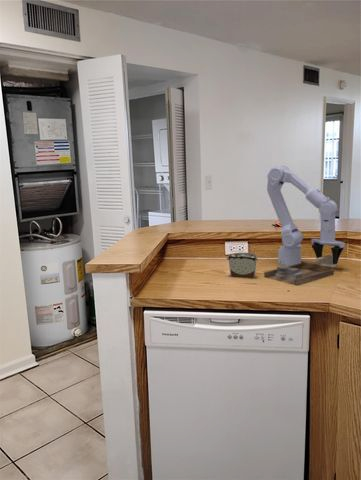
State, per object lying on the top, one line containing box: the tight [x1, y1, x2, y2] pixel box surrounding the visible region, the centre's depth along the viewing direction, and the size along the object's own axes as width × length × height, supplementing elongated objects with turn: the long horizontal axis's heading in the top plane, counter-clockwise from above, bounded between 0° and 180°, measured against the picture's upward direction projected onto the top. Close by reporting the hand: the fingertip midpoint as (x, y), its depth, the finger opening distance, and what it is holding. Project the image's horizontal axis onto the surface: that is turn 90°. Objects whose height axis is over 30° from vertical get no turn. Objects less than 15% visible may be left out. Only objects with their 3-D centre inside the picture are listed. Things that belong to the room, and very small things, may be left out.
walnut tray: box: [263, 260, 335, 287], centre depth 162 cm, size 16×22×4 cm
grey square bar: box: [275, 265, 302, 282], centre depth 159 cm, size 10×4×4 cm, turn 35°
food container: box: [226, 252, 259, 280], centre depth 165 cm, size 12×6×10 cm, turn 65°
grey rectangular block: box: [315, 254, 338, 269], centre depth 172 cm, size 2×11×6 cm, turn 125°
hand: (327, 262), depth 172 cm, fingers open, 7 cm apart
